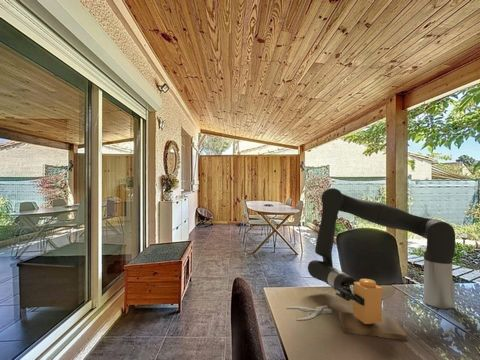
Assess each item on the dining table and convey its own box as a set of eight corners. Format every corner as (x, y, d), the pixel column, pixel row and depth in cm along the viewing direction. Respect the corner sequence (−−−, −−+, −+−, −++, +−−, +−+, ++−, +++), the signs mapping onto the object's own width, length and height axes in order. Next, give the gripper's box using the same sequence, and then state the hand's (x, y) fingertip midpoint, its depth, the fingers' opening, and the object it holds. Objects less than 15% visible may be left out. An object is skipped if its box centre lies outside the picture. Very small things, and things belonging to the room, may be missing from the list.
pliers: (286, 304, 102) (322, 301, 105) (286, 308, 102) (322, 305, 105) (297, 317, 92) (337, 313, 95) (297, 321, 92) (337, 318, 95)
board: (394, 322, 92) (394, 303, 92) (406, 340, 82) (407, 318, 82) (338, 315, 96) (339, 297, 96) (343, 332, 86) (343, 311, 86)
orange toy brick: (368, 313, 92) (369, 277, 93) (381, 322, 86) (382, 284, 87) (353, 315, 91) (353, 278, 91) (365, 324, 85) (365, 285, 85)
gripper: (324, 273, 101) (352, 291, 85) (358, 272, 104) (392, 288, 88) (324, 294, 101) (352, 315, 85) (358, 291, 104) (391, 311, 88)
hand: (372, 301), depth 87 cm, fingers closed on orange toy brick, 5 cm apart
